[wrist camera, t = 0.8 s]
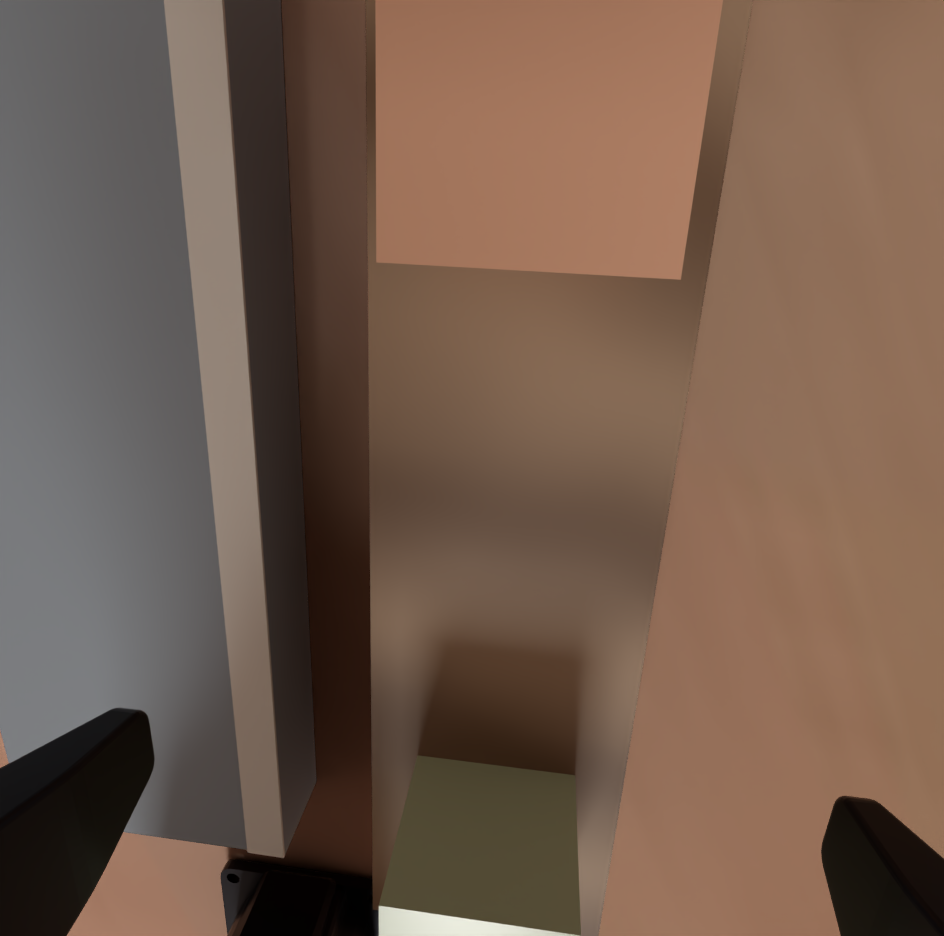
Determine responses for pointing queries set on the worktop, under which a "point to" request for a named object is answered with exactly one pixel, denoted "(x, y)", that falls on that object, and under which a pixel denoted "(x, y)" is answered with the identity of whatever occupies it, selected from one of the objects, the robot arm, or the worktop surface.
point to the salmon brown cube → (541, 132)
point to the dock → (154, 405)
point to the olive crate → (484, 854)
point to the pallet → (525, 501)
